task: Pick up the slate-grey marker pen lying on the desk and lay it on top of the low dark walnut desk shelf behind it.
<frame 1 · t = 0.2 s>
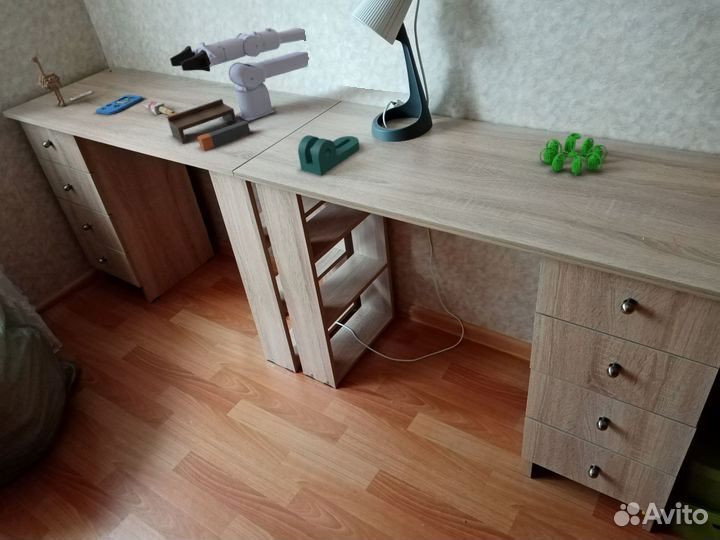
hand: (176, 64, 155), 21 cm above the table, tool horizontal, fingers open, 7 cm apart
handheld gaming device: (120, 106, 197), on the table
shelf: (205, 130, 170), on the table
chandelier: (571, 163, 131), on the table
bracket: (333, 158, 146), on the table
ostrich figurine: (73, 101, 207), on the table
marker: (226, 140, 162), on the table
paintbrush: (162, 113, 187), on the table
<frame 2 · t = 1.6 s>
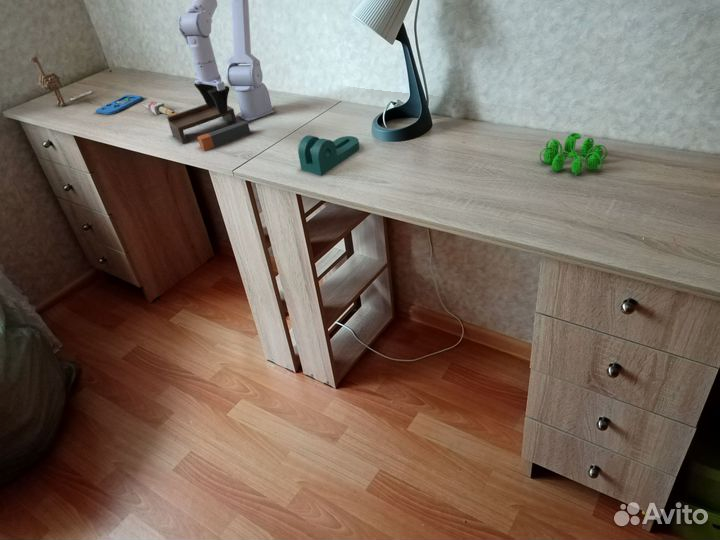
hand: (217, 109, 157), 9 cm above the table, tool pointing down, fingers open, 7 cm apart
nothing on the table moved.
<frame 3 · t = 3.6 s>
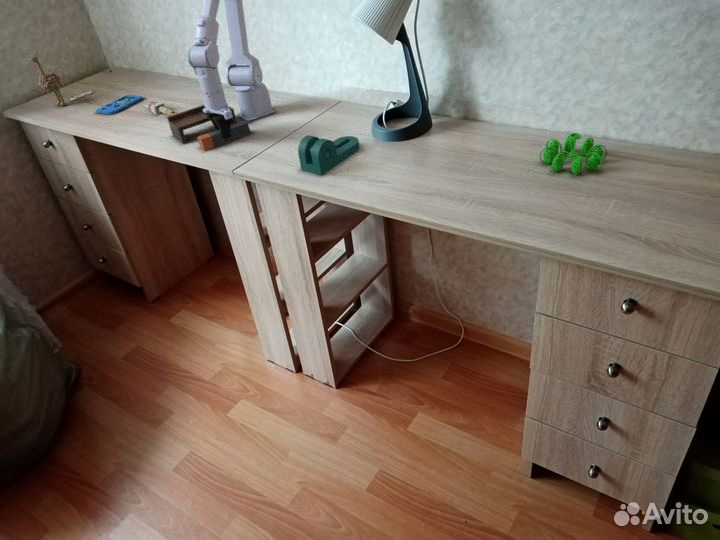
hand: (224, 136, 162), 1 cm above the table, tool pointing down, fingers closed on marker, 2 cm apart
marker: (226, 140, 162), on the table, touching gripper
everything else where it was.
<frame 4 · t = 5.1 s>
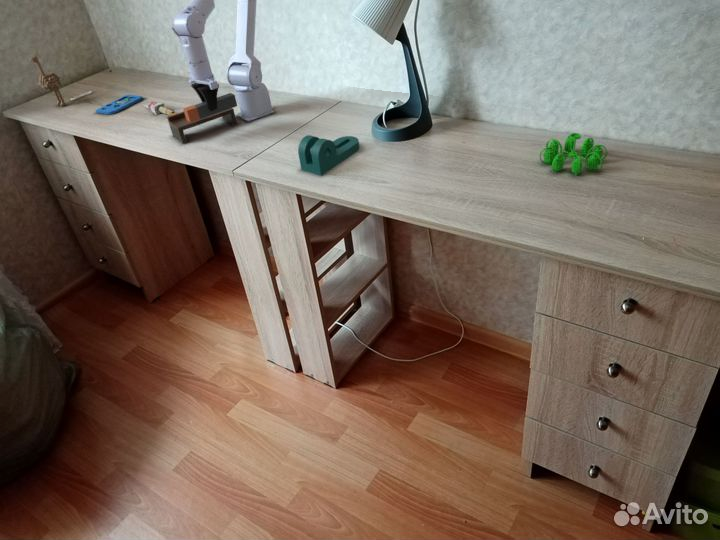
hand: (211, 108, 160), 9 cm above the table, tool pointing down, fingers closed on marker, 2 cm apart
marker: (212, 113, 161), point 7 cm above the table, touching gripper
everything else where it was.
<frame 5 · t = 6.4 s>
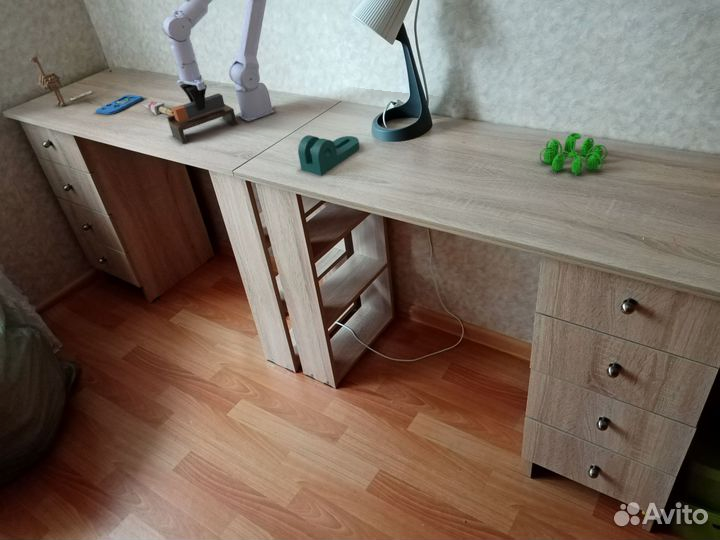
hand: (199, 108, 166), 7 cm above the table, tool pointing down, fingers closed on marker, 2 cm apart
marker: (200, 112, 167), point 6 cm above the table, touching gripper
everything else where it was.
when the fingers open (6 cm above the table, at t = 6.9 s): marker stays where it is, resting on shelf.
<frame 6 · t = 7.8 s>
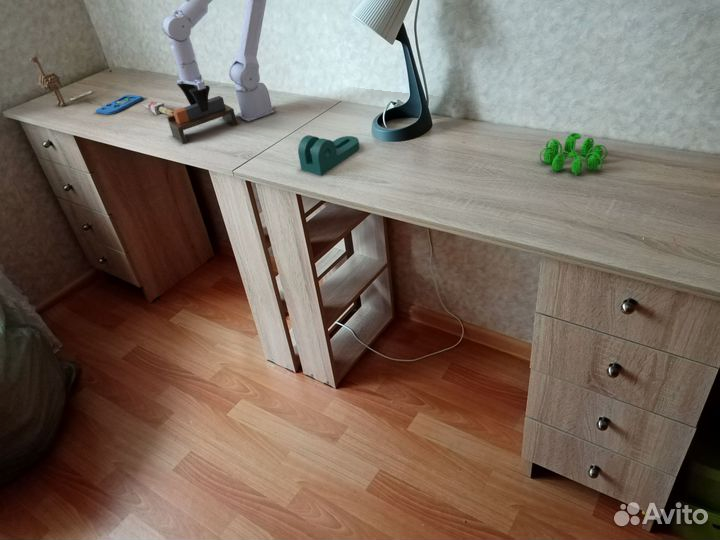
hand: (199, 107, 166), 7 cm above the table, tool pointing down, fingers open, 7 cm apart
marker: (201, 115, 167), point 5 cm above the table, touching shelf
everything else where it was.
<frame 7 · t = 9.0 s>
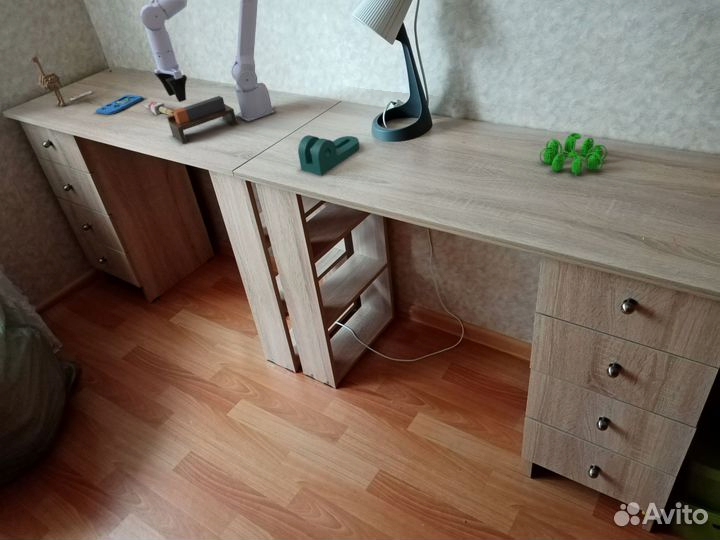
hand: (177, 97, 165), 10 cm above the table, tool pointing down, fingers open, 7 cm apart
nothing on the table moved.
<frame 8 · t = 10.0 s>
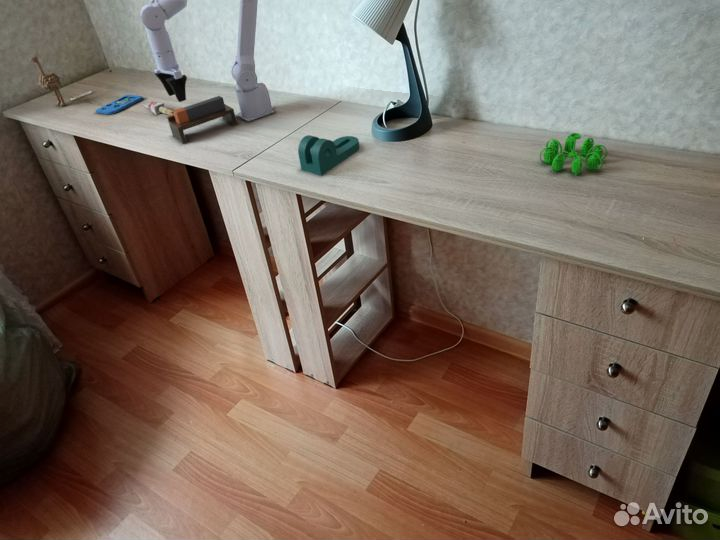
hand: (177, 97, 165), 10 cm above the table, tool pointing down, fingers open, 7 cm apart
nothing on the table moved.
at the end: marker inside the target area (0.5 cm from its centre), point 5.0 cm above the table; marker touching shelf; the gripper is holding nothing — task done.
